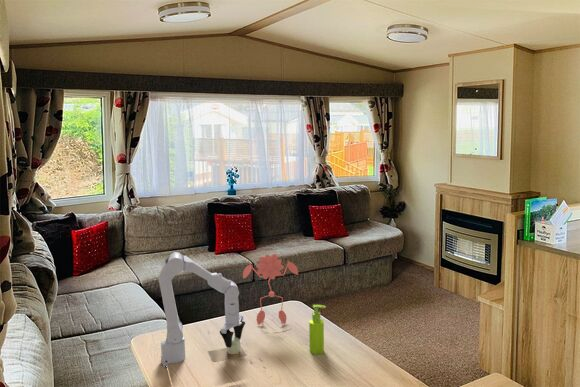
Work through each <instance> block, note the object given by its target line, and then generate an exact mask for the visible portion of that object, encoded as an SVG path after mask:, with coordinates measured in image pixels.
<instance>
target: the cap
mask: <svg viewBox="0 0 580 387" xmlns="http://www.w3.org/2000/svg"><path fill="white" fill-rule="evenodd" d="M240 340H241V339H239V338H238V337H235V336H232V345H231V347H226V348H227V352H228V353H229V354H237V353H239V352H240V345H241V341H240Z"/></svg>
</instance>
